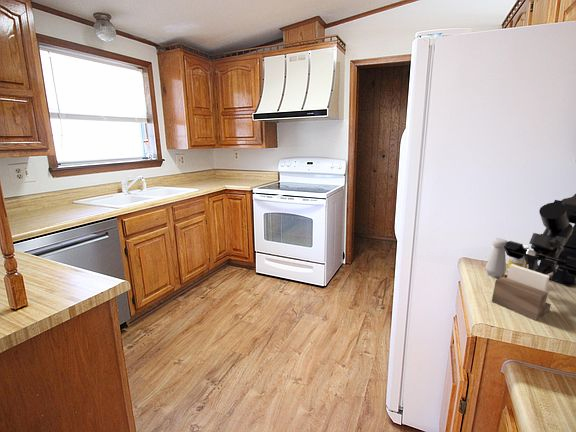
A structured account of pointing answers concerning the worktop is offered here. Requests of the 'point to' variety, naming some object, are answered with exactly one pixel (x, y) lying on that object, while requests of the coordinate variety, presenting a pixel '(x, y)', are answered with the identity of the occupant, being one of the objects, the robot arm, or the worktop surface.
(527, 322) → the worktop surface
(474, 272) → the worktop surface
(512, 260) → the supplement bottle
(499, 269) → the salt shaker
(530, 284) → the button plate
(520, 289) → the brown wooden stand
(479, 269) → the worktop surface
